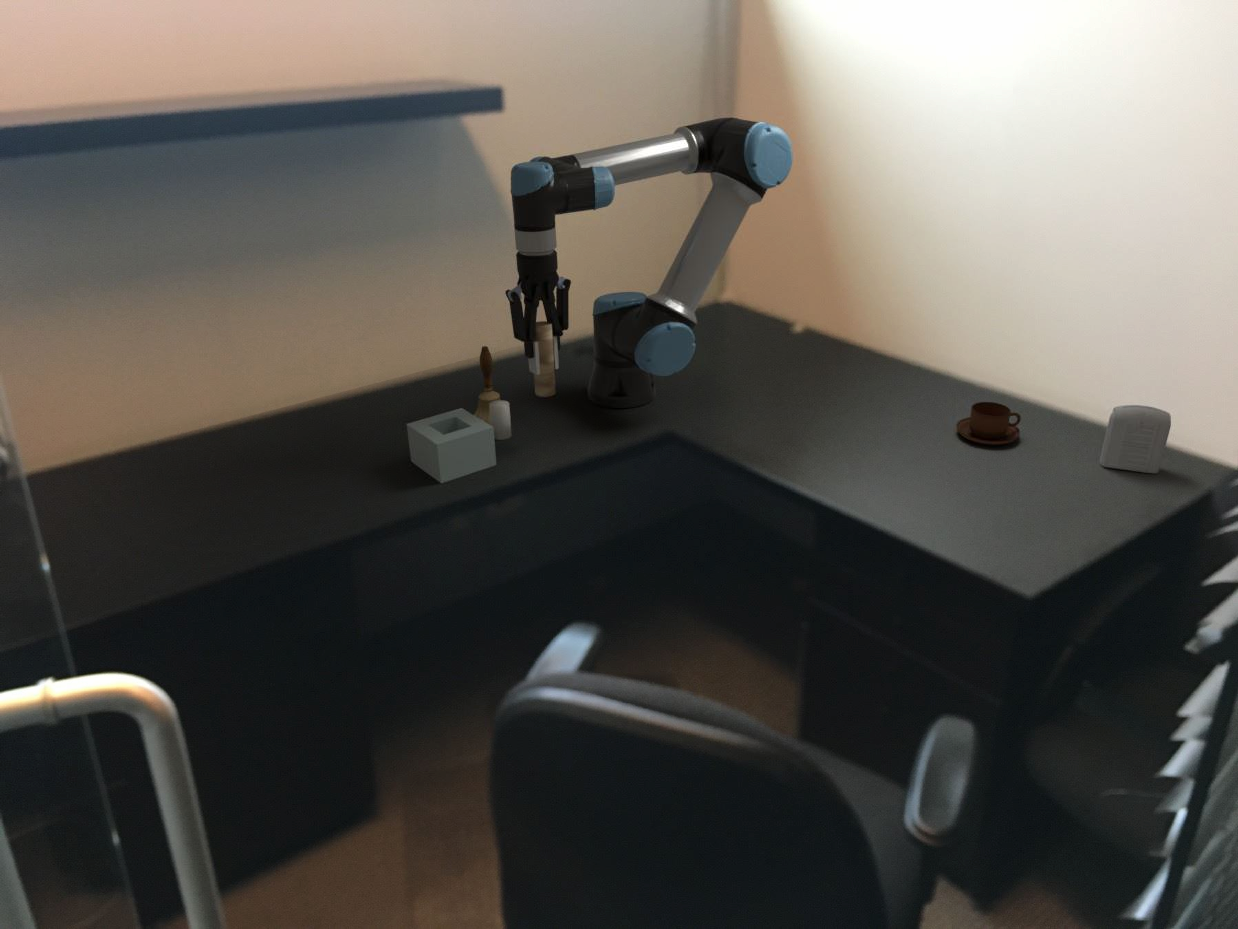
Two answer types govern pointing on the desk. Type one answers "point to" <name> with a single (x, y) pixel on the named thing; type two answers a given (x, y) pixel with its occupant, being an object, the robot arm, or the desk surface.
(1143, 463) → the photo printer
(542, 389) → the long pin
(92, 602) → the desk surface
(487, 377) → the hand bell
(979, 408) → the cup and saucer
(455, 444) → the hole block
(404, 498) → the desk surface
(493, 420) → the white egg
